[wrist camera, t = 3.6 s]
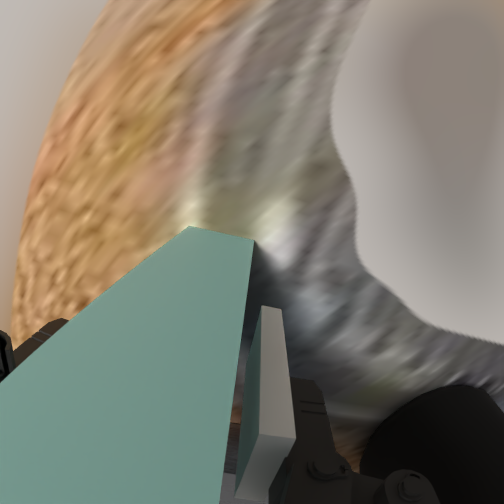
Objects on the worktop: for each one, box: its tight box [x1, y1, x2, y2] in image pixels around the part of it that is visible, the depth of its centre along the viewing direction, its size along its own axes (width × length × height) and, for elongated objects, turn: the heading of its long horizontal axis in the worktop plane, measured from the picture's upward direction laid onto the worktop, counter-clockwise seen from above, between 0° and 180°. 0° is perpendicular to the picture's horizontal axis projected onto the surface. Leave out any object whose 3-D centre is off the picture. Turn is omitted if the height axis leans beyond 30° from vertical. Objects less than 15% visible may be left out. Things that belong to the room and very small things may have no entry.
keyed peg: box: [0, 226, 254, 504], centre depth 8 cm, size 6×3×14 cm, turn 167°
